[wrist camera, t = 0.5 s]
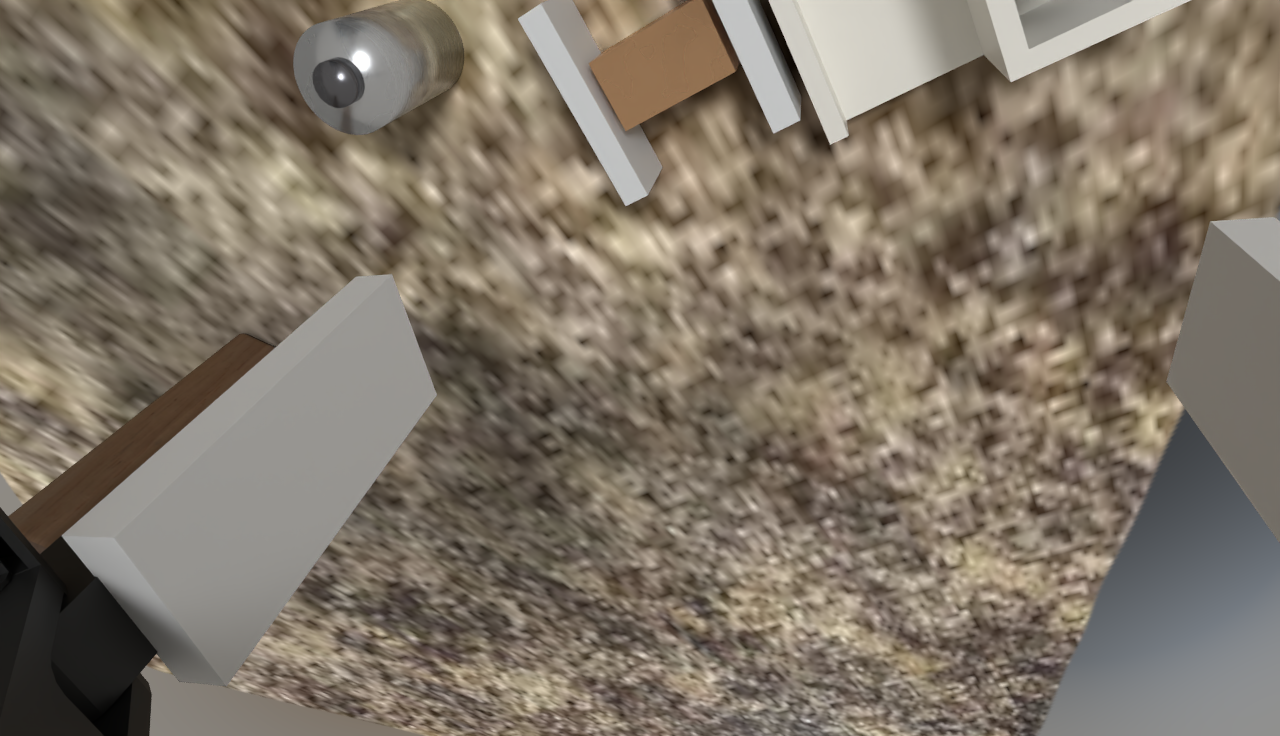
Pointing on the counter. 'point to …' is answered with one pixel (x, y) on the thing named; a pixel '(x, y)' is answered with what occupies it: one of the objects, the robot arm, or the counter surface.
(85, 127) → the counter surface
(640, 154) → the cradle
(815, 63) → the rack
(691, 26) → the plate
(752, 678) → the counter surface
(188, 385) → the wooden block
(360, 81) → the cell
